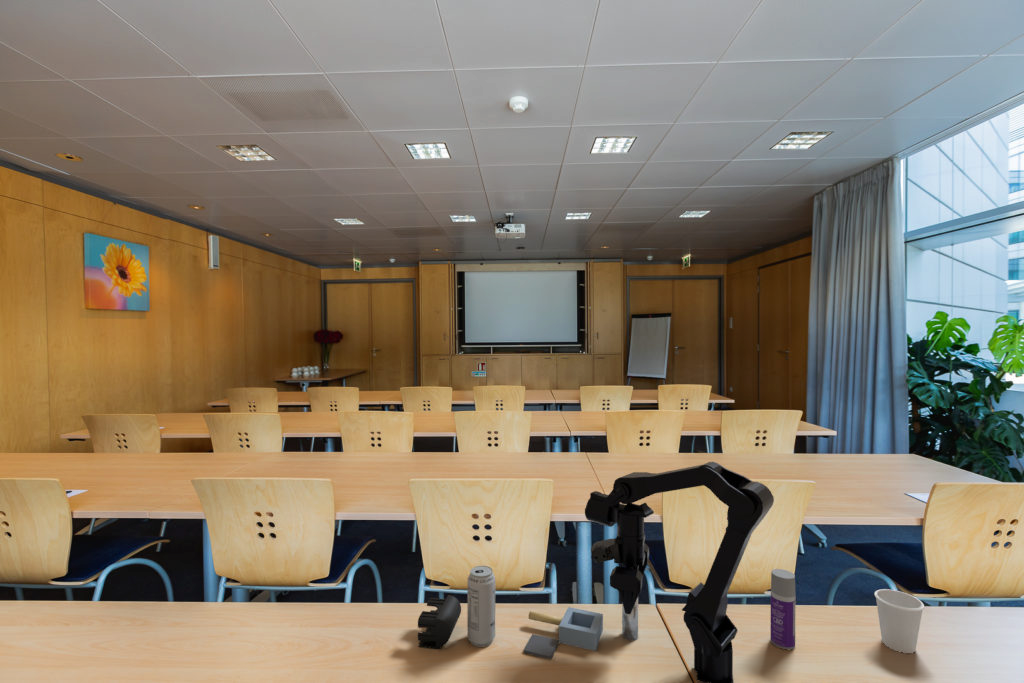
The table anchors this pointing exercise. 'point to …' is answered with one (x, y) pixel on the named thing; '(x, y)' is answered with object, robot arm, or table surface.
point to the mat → (541, 646)
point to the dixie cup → (899, 619)
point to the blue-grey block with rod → (575, 627)
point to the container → (783, 608)
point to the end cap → (438, 622)
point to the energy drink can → (481, 606)
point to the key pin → (630, 623)
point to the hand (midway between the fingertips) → (630, 602)
